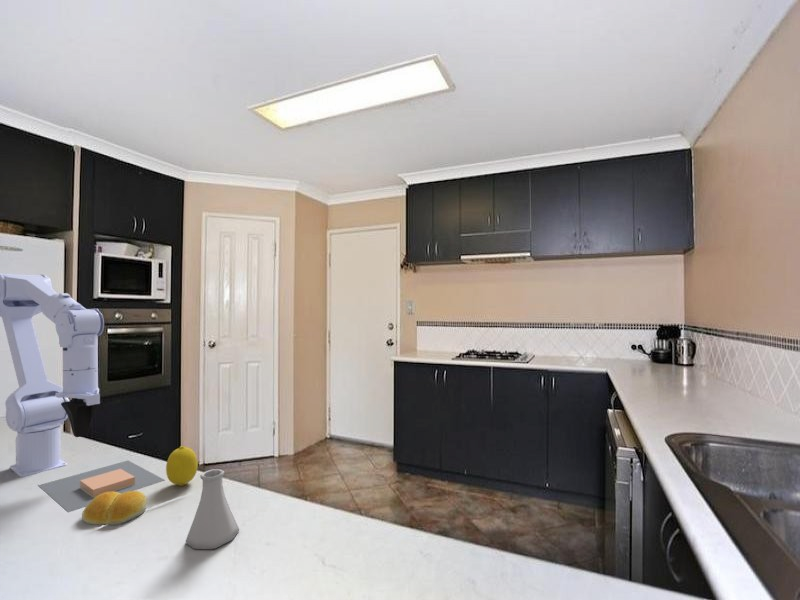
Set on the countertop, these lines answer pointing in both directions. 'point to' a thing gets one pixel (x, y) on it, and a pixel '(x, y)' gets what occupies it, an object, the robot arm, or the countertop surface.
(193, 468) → the lemon
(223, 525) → the flask
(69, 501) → the mat
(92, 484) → the tile
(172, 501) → the countertop surface
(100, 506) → the bread roll
